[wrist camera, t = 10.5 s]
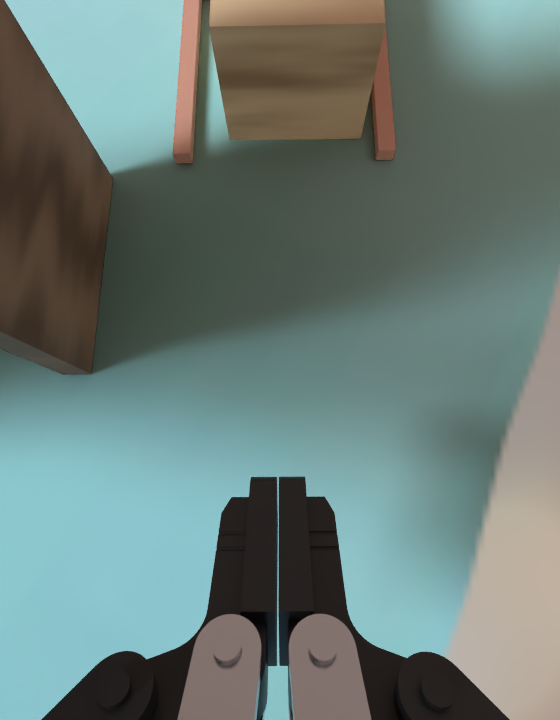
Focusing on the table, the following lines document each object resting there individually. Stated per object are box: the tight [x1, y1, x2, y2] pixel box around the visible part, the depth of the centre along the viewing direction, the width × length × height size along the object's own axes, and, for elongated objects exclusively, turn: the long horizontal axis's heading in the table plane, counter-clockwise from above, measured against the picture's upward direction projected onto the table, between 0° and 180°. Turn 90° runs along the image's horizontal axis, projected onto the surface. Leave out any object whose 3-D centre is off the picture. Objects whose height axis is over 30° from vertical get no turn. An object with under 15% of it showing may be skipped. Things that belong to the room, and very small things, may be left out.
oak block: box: [209, 0, 386, 140], centre depth 24 cm, size 10×8×7 cm
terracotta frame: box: [173, 0, 396, 163], centre depth 26 cm, size 14×13×1 cm
